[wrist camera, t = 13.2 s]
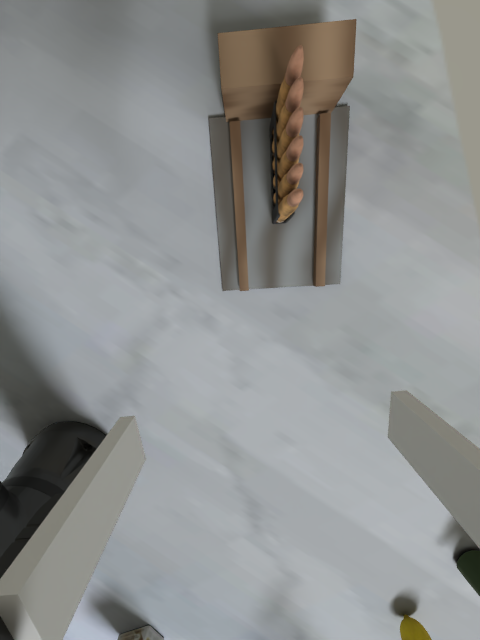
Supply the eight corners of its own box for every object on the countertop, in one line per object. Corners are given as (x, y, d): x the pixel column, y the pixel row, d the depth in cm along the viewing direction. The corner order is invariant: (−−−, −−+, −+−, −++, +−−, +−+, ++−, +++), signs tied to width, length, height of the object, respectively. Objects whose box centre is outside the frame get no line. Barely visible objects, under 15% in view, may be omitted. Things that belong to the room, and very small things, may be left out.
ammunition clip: (269, 125, 27) (286, 29, 16) (285, 123, 27) (314, 26, 15) (272, 224, 30) (288, 205, 18) (286, 223, 30) (312, 203, 18)
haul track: (222, 290, 33) (218, 297, 27) (206, 83, 26) (195, 35, 21) (339, 283, 32) (359, 290, 26) (350, 69, 26) (380, 16, 20)
